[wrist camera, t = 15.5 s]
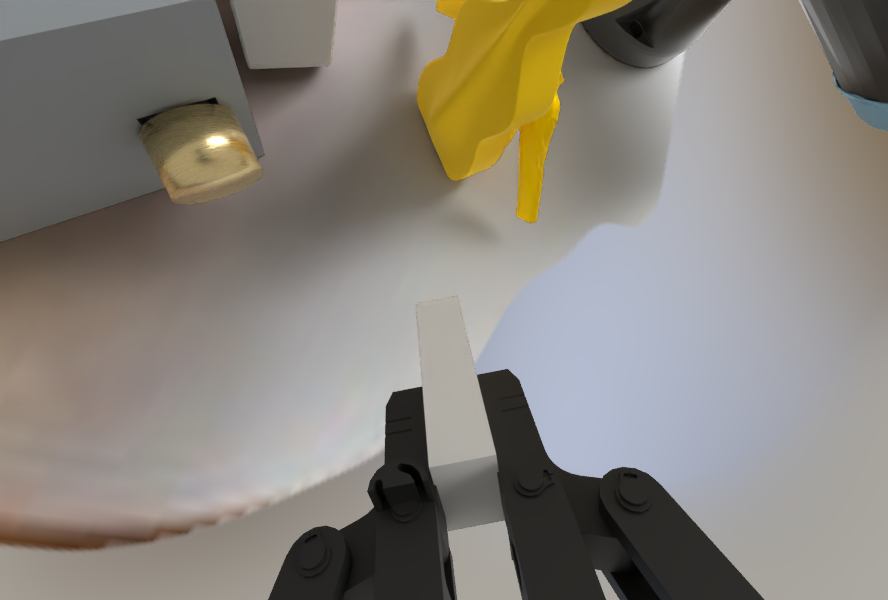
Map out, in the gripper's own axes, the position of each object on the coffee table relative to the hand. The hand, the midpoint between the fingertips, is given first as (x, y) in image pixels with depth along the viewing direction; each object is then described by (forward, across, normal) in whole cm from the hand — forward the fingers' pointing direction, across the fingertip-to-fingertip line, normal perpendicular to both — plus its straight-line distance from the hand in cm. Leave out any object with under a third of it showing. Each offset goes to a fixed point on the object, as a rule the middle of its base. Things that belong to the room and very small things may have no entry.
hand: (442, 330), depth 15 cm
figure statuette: (+23, +4, +2) cm, 23 cm away
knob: (+13, -11, +7) cm, 19 cm away
